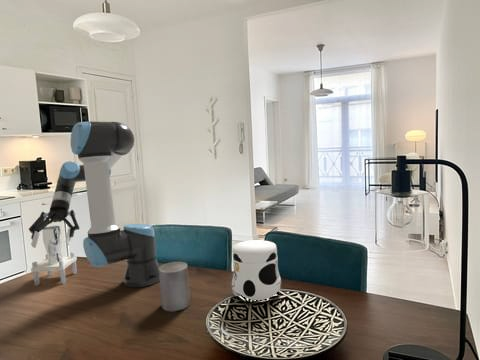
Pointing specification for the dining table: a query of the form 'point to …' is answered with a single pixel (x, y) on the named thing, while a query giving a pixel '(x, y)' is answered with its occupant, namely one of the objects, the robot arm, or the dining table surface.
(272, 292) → the milk container
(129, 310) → the dining table surface
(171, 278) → the pillar candle
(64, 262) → the shelf stand
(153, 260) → the robot arm
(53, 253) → the silver metal goblet
